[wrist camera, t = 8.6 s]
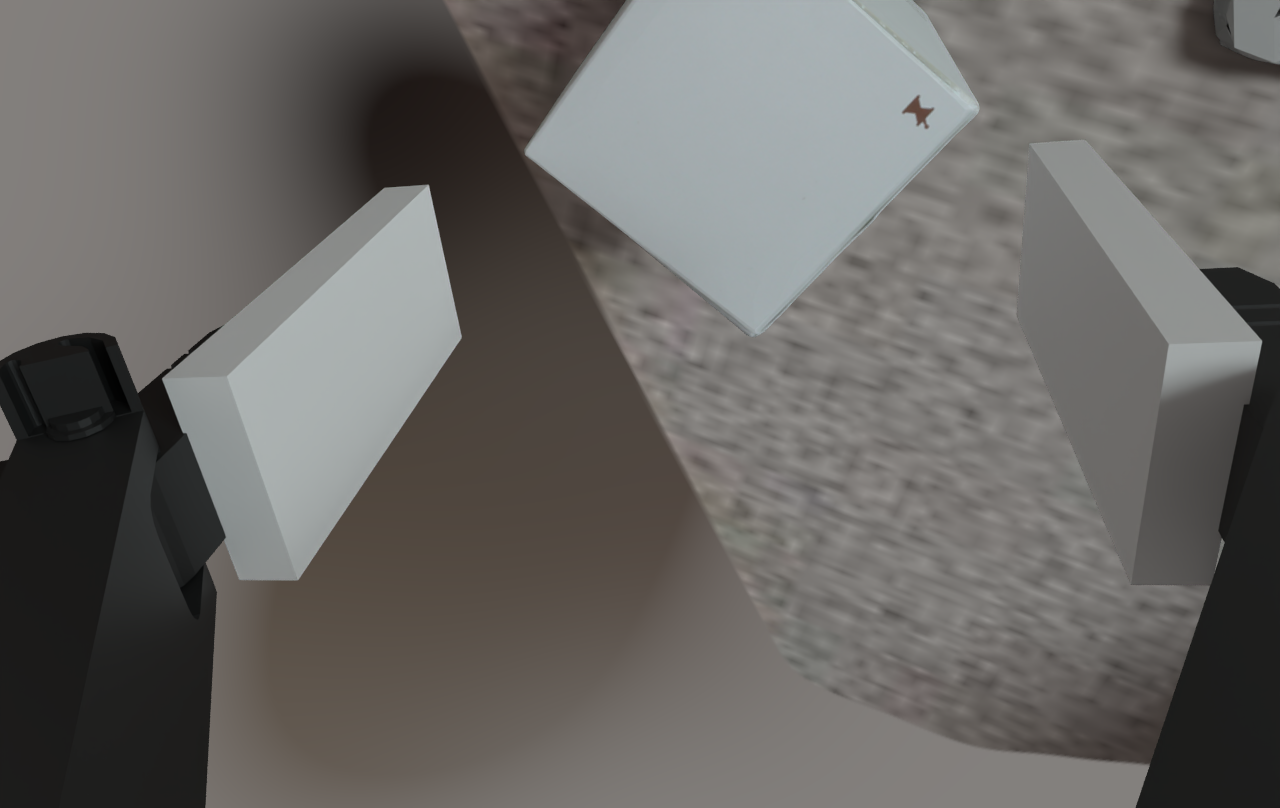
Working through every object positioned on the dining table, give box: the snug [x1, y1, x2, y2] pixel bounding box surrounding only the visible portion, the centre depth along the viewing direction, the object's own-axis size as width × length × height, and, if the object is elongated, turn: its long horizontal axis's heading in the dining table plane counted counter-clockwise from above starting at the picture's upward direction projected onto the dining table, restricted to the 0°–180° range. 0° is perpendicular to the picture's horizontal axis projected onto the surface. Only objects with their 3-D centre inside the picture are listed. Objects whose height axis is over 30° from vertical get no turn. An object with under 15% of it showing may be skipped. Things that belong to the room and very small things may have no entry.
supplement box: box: [524, 0, 979, 337], centre depth 27 cm, size 7×7×13 cm
